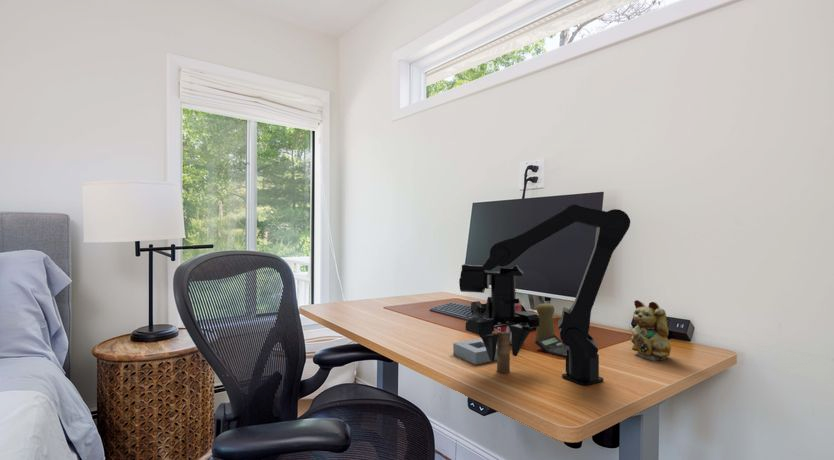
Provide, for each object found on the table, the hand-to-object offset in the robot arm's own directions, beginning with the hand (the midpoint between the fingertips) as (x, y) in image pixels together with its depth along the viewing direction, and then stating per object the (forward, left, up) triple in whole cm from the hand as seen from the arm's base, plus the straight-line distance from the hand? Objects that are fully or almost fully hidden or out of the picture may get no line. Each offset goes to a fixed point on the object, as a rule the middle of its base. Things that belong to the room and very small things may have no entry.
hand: (503, 358), depth 97 cm
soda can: (+19, -19, -3) cm, 27 cm away
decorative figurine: (-11, -42, -3) cm, 44 cm away
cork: (+15, -30, -3) cm, 34 cm away
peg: (0, 0, -3) cm, 3 cm away
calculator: (+4, -25, -4) cm, 26 cm away
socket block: (+12, -2, -3) cm, 13 cm away
